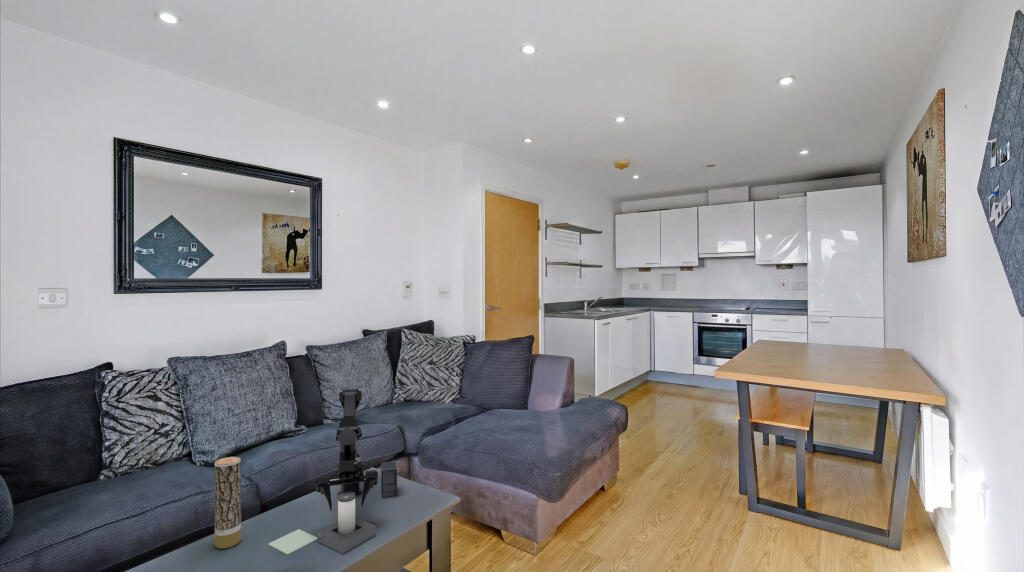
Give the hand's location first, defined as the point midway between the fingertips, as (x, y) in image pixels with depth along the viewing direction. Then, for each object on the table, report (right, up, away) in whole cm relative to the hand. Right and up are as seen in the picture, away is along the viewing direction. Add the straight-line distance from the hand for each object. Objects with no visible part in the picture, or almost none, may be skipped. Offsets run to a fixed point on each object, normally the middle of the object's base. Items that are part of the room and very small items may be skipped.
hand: (346, 508), depth 145 cm
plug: (0, -9, -1) cm, 9 cm away
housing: (0, -9, -1) cm, 9 cm away
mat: (-15, -9, -3) cm, 18 cm away
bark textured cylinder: (-35, -9, -3) cm, 36 cm away
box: (+5, -9, +31) cm, 32 cm away
